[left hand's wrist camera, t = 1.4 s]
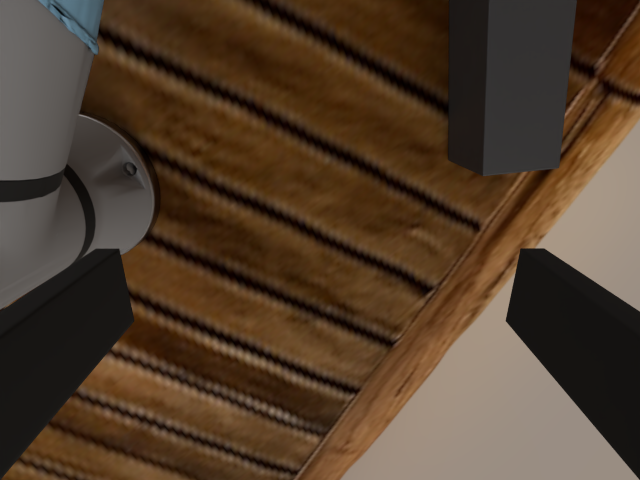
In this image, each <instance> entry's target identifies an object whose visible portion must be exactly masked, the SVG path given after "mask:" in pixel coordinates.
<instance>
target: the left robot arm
mask: <svg viewBox="0 0 640 480" xmlns="http://www.w3.org/2000/svg"><path fill="white" fill-rule="evenodd" d="M103 3H104V0H0V309H2V308H3V307H5V306H6V305H8V304H10V303H11V302H13V301H14V300H16V299H18V298H19V297H21V296H23V295H24V294H26V293H27V292H29V291H31V290H32V289H34V288H35V287H37V286H38V287H37V288H35V289H34V290H32V291H31V292H29V293H28V294H26V295H25V296H23V297H22V298H20V299H19V300H17V301H16V302H14V303H13V304H11V305H10V306H8V307H7V308H5V309H4V310H2V311H0V480H1V478H2V477H3V476H4V475H5V474H6V472H7V471H8V470H9V469H10V468H11V467H12V465H13V464H14V463H15V462H16V461H17V459H18V458H19V457H20V456H21V455H22V453H23V452H24V451H25V450H26V449H27V448H28V446H29V445H30V444H31V443H32V442H33V440H34V439H35V438H36V437H37V436H38V434H39V433H40V432H41V431H42V430H43V429H44V427H45V426H46V425H47V424H48V423H49V421H50V420H51V419H52V418H53V417H54V416H55V414H56V413H57V412H58V411H59V410H60V408H61V407H62V406H63V405H64V404H65V402H66V401H67V400H68V399H69V398H70V397H71V395H72V394H73V393H74V392H75V391H76V389H77V388H78V387H79V386H80V385H81V384H82V382H83V381H84V380H85V379H86V378H87V376H88V375H89V374H90V373H91V372H92V370H93V369H94V368H95V367H96V366H97V365H98V363H99V362H100V361H101V360H102V359H103V357H104V356H105V355H106V354H107V353H108V351H109V350H110V349H111V348H112V347H113V346H114V344H115V343H116V342H117V341H118V340H119V338H120V337H121V336H122V335H123V334H124V333H125V331H126V330H127V329H128V328H129V327H130V325H131V324H132V323H133V322H134V317H133V312H132V307H131V303H130V298H129V293H128V288H127V283H126V278H125V274H124V269H123V264H122V259H121V255H122V254H124V253H126V252H128V251H129V250H131V249H132V248H133V247H135V246H136V245H138V244H139V243H140V242H142V241H143V240H144V239H145V238H146V237H147V235H148V234H149V233H150V232H151V230H152V228H153V227H154V225H155V223H156V220H157V217H158V213H159V209H160V189H159V183H158V179H157V176H156V173H155V170H154V168H153V166H152V164H151V162H150V160H149V158H148V157H147V155H146V154H145V152H144V151H143V149H142V148H141V147H140V146H139V144H138V143H137V142H136V141H135V140H134V139H133V138H132V137H131V136H130V135H129V134H127V133H126V132H125V131H124V130H122V129H121V128H120V127H118V126H117V125H115V124H113V123H112V122H110V121H108V120H105V119H103V118H101V117H98V116H95V115H91V114H87V113H82V112H80V108H81V104H82V100H83V96H84V93H85V89H86V85H87V81H88V77H89V73H90V70H91V66H92V62H93V58H94V54H96V55H97V54H98V51H99V47H98V44H97V36H98V30H99V24H100V19H101V14H102V8H103ZM56 274H57V275H56ZM53 276H54V277H53ZM48 279H49V280H48ZM45 281H46V282H45ZM42 283H43V284H42ZM40 284H41V285H40ZM39 285H40V286H39ZM506 322H507V323H508V324H509V325H510V327H511V328H512V329H513V330H514V331H515V333H516V334H517V335H518V336H519V337H520V338H521V340H522V341H523V342H524V343H525V344H526V346H527V347H528V348H529V349H530V350H531V351H532V353H533V354H534V355H535V356H536V357H537V359H538V360H539V361H540V362H541V363H542V365H543V366H544V367H545V368H546V369H547V370H548V372H549V373H550V374H551V375H552V376H553V378H554V379H555V380H556V381H557V382H558V384H559V385H560V386H561V387H562V388H563V389H564V391H565V392H566V393H567V394H568V395H569V396H570V398H571V399H572V400H573V401H574V402H575V404H576V405H577V406H578V407H579V408H580V410H581V411H582V412H583V413H584V414H585V416H586V417H587V418H588V419H589V420H590V421H591V423H592V424H593V425H594V426H595V427H596V429H597V430H598V431H599V432H600V433H601V434H602V436H603V437H604V438H605V439H606V440H607V442H608V443H609V444H610V445H611V446H612V448H613V449H614V450H615V451H616V452H617V453H618V455H619V456H620V457H621V458H622V459H623V461H624V462H625V463H626V464H627V465H628V466H629V468H630V469H631V470H632V471H633V472H634V474H635V475H636V476H637V477H638V478H639V480H640V312H639V311H638V310H636V309H635V308H633V307H632V306H630V305H629V304H627V303H626V302H624V301H623V300H621V299H620V298H618V297H617V296H615V295H614V294H612V293H611V292H609V291H608V290H606V289H605V288H603V287H602V286H600V285H599V284H597V283H596V282H594V281H593V280H591V279H589V278H588V277H586V276H585V275H583V274H582V273H580V272H579V271H577V270H576V269H574V268H573V267H571V266H570V265H568V264H567V263H565V262H564V261H562V260H561V259H559V258H558V257H556V256H555V255H553V254H552V253H550V252H549V251H547V250H546V249H520V254H519V259H518V264H517V269H516V274H515V278H514V283H513V288H512V293H511V298H510V303H509V307H508V312H507V317H506Z"/></svg>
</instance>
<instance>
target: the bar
mask: <svg viewBox="0 0 640 480" xmlns="http://www.w3.org/2000/svg"><path fill="white" fill-rule="evenodd" d="M576 2H577V0H449V144H448V160H449V161H451V162H454V163H456V164H458V165H460V166H462V167H465V168H467V169H469V170H471V171H473V172H475V173H478V174H480V175H482V176H488V175H498V174H507V173H517V172H526V171H536V170H546V169H555V168H559V163H560V153H561V144H562V134H563V125H564V115H565V106H566V97H567V87H568V78H569V68H570V59H571V49H572V40H573V30H574V21H575V11H576Z"/></svg>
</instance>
